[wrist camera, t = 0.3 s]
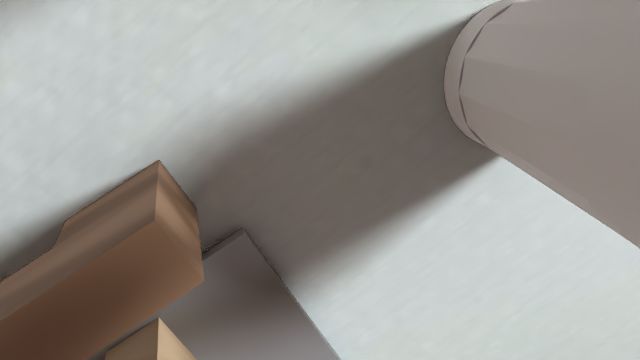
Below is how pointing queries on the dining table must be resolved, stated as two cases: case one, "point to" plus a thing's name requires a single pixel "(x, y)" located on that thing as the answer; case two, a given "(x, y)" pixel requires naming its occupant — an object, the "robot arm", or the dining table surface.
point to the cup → (557, 98)
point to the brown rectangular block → (104, 272)
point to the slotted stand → (227, 316)
